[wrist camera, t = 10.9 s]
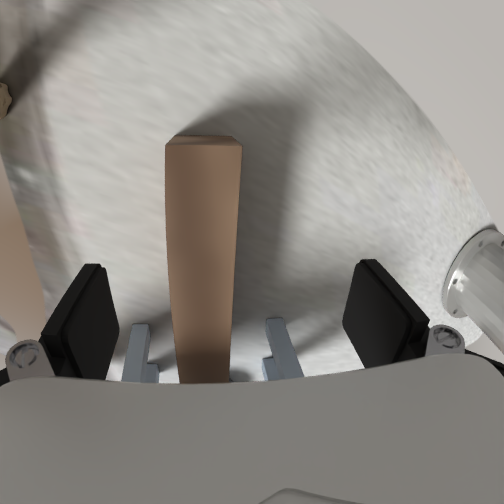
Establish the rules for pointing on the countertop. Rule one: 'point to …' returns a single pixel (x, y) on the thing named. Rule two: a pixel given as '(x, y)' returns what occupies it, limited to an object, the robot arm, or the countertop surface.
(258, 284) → the countertop surface
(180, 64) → the countertop surface
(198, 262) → the brown block
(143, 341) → the low shelf
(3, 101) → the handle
